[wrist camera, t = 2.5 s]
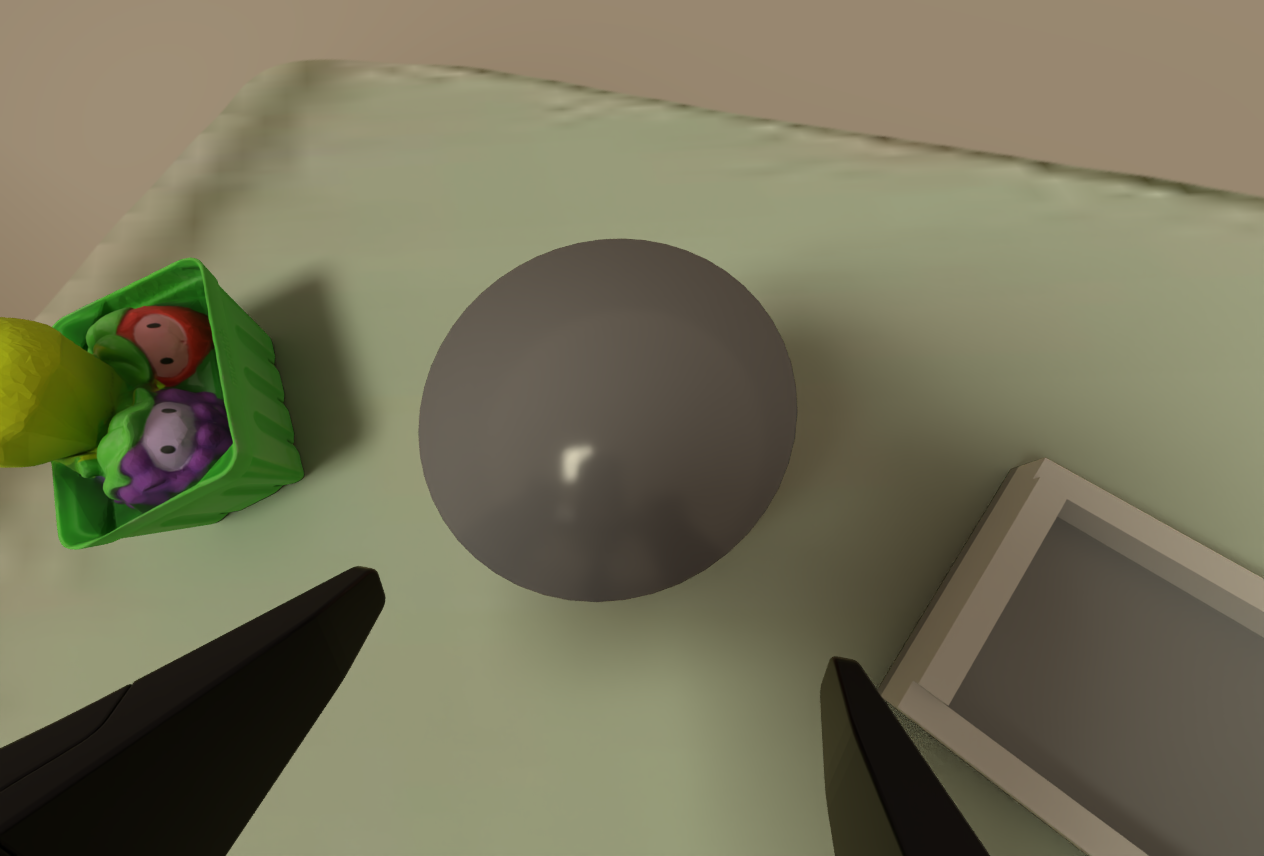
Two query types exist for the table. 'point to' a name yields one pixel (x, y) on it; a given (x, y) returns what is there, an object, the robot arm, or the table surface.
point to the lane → (1097, 672)
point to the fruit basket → (147, 408)
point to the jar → (607, 420)
